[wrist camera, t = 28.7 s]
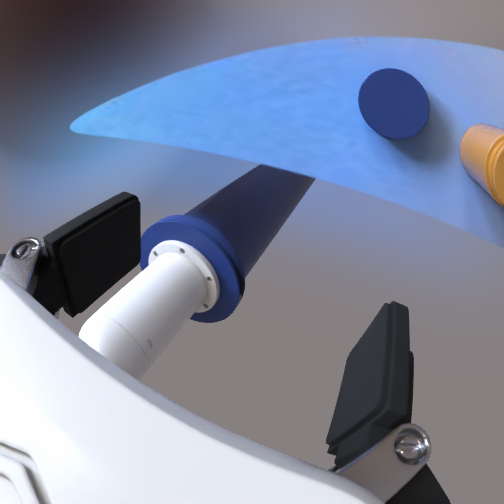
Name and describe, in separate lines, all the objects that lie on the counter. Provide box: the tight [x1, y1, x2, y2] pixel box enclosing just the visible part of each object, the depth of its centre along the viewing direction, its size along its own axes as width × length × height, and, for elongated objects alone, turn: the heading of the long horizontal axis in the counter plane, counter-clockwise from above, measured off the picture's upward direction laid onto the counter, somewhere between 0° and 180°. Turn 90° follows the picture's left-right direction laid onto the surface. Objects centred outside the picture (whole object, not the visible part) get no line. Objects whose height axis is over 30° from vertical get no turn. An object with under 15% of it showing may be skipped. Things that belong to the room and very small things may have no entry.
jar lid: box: [358, 68, 429, 139], centre depth 22 cm, size 7×7×2 cm
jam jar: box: [460, 124, 504, 207], centre depth 17 cm, size 6×6×9 cm
